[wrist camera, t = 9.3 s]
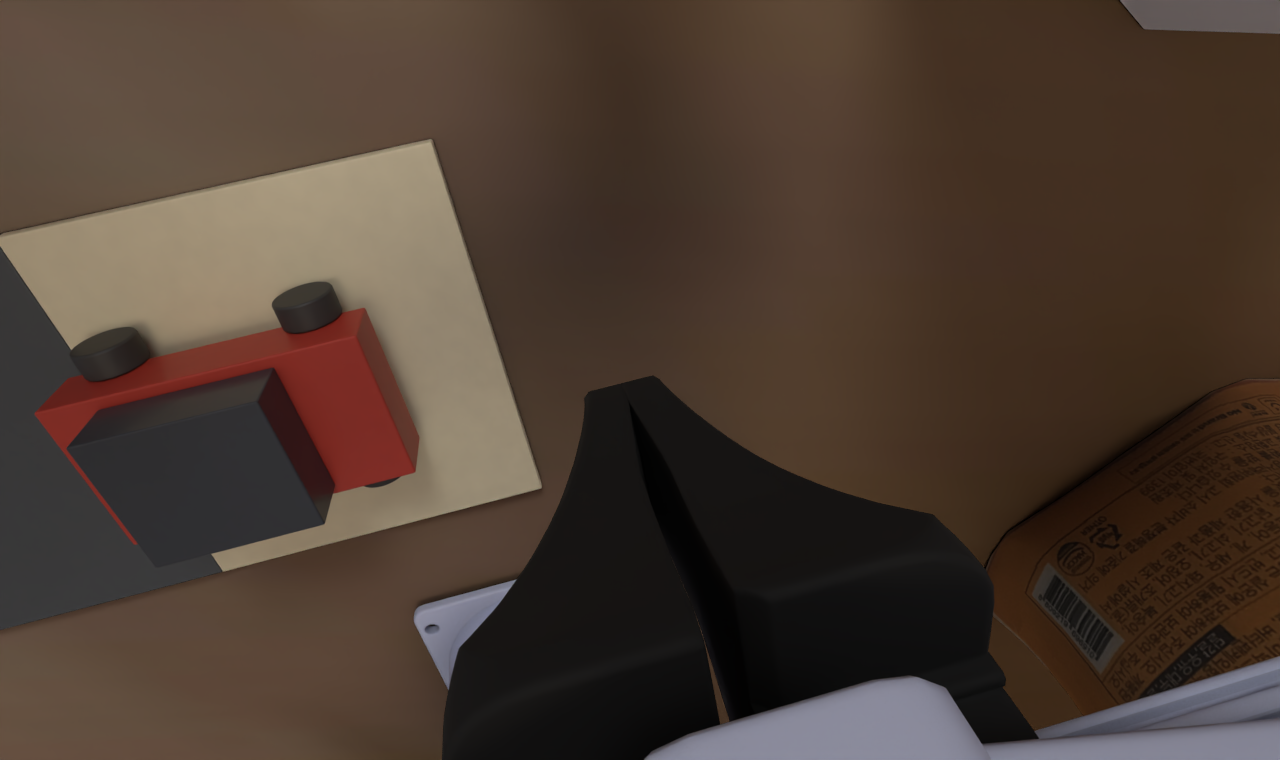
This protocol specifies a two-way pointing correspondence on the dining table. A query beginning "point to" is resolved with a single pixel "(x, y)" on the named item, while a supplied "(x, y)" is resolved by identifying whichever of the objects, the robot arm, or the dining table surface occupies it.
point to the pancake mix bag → (1156, 558)
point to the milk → (1207, 15)
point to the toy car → (234, 427)
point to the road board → (235, 307)
